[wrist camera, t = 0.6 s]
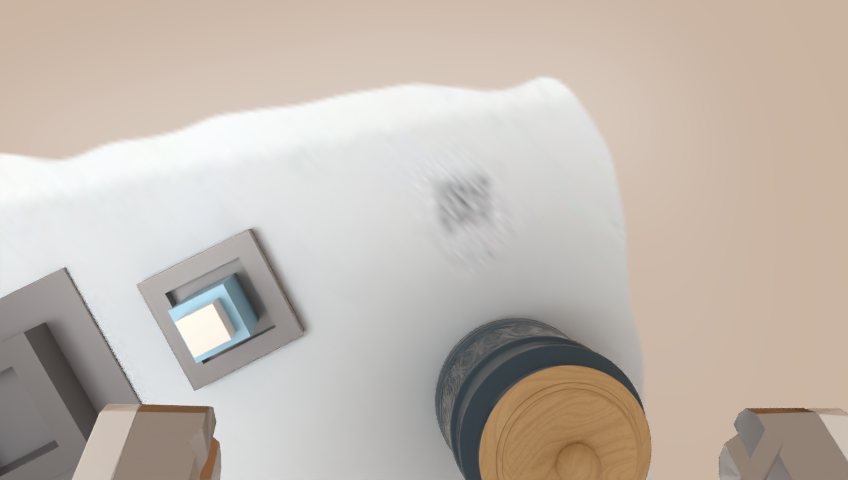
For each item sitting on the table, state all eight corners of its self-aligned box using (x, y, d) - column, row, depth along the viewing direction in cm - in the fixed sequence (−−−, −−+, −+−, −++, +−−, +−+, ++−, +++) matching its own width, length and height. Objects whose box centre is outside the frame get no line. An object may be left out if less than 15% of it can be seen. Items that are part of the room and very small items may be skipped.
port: (167, 450, 56) (152, 475, 51) (-28, 551, 54) (-64, 587, 50) (64, 267, 54) (38, 275, 49) (-141, 367, 53) (-189, 385, 48)
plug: (259, 318, 56) (246, 343, 46) (212, 342, 55) (189, 372, 46) (235, 272, 55) (217, 288, 46) (187, 296, 55) (159, 317, 46)
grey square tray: (303, 330, 57) (303, 335, 55) (198, 384, 56) (194, 391, 54) (250, 228, 56) (247, 229, 54) (142, 281, 55) (136, 284, 53)
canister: (439, 480, 59) (488, 600, 42) (424, 325, 58) (468, 381, 41) (591, 457, 61) (698, 563, 43) (579, 306, 60) (683, 352, 42)
